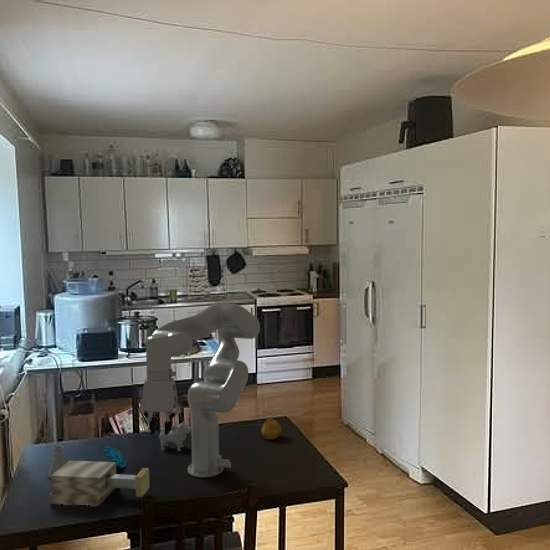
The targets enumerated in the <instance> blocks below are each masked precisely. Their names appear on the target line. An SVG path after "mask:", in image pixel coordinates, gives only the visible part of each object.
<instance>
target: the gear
mask: <svg viewBox="0 0 550 550" xmlns="http://www.w3.org/2000/svg"><path fill="white" fill-rule="evenodd" d="M103 452H104V453H105V457H106V458H108V459H109V461H108V462H116V468H117V467H119V468H120V469H124V468H126V467H127V461H126V460H125V456H122V455H121V451H120V450H116V448H114V447H112V446H109V445H108V446H105V447H104V450H103Z"/></svg>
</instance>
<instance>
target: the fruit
mask: <svg viewBox="0 0 550 550" xmlns="http://www.w3.org/2000/svg"><path fill="white" fill-rule="evenodd" d="M281 433H282V426H281V425H280V423H279V422H278V421H277V420H275V419H273V418H267V419H266V421H265V422H264V423H263V424H262V427H261V435H262V437H263V438H265V439H266V440H276V439H278V438H279V436H280V435H281Z"/></svg>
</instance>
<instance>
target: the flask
mask: <svg viewBox="0 0 550 550" xmlns="http://www.w3.org/2000/svg"><path fill="white" fill-rule="evenodd" d="M63 449H64V446H63V445H56V446H53V447H52V450H53V457H52V462H51V464H50V468H49V470H48V473H47V477H48V478H49V479H50V480H51V475H52V474H54V473H55V472H56V471H57V470H59V469H60V468H61V467H62V466H64V465H65V464H66V463H67V462H66V460H65V457H64V453H63V451H64V450H63Z"/></svg>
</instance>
